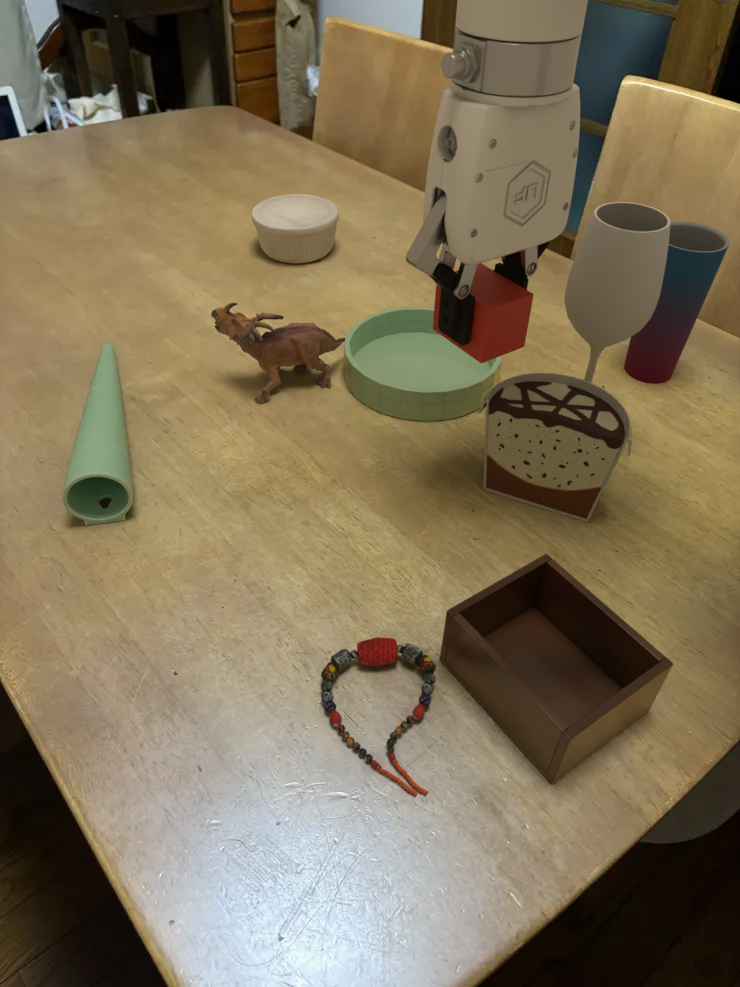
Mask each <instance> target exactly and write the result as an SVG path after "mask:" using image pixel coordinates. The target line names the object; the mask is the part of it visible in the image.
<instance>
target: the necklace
mask: <svg viewBox="0 0 740 987" xmlns="http://www.w3.org/2000/svg"><path fill="white" fill-rule="evenodd" d="M399 654H401V657H402V659H403V660H404V661H406V662H408V663H410V664H412V665H413V666H417V667H418V668H419V669H420V670H421V671H422V672H423V674H424V677H423V681H424V684H423V685H421V687H420V689H421V695H420V696H419V698H418V702H419V704H417V705H416V706H414V708H413V710H412V712H411V715H408V716H406V718H405V720H403V721H402V722H400V725H398V726H396V727H395V729H394V731H392V732H390V734H389V739H387V741H386V746H387V748H386V750H385V751H386V753H387V755H388V757H389V760H390V762H391V764H392V765H393V766H394V767H395V768H396V769H397V770H398V771H399V773H401V774H402V775H403V776H404V778H405V779H406V780H407V782H408V783H409V784H410V785H411V786H412V787H413V788H414V789H413V788H411V787H410V786H409V785H408V784H407V783H405V782H404V781H403V780H402V779H401V778H400V777H399V776H396V775H394V774H392V773H391V772H390V770H387V769H384V768H383V767H382V765H381V764H380V763H379V762H378V761H377V760H375V759H374V756H373V755H372V754H371V753H368V751H367V749H366V748H364V747H362V745H361V743H360V742H358V741H356V740H355V738H354V737H353V736H350V733H349V731H346V727H345V725H344V724H342V716H341V714H340V712H339V711H337V710H336V709H337V704H336V703H335V701H334V695H333V693H332V690H333V682H334V681H335V679H336V678H337V676H338V675H339V673H340V671H341V670H342V669H344V668H346V667H347V666H349V665H350V664H351V663H352V661H353V660H356V659H357V661H358V664H359V665H361V666H369V667H371V666H373V667H382V666H385V665H390V664H394V663H396V662H397V661H398V660H399ZM436 669H437V664H436V663H435V662H434V660H432V659H431V658H430V656H429V655H428V654H424V652H423V650H422V649H420V648H419V647H417V646H415V645H413V644H412V643H406V644H405V645H403V644H398V643H397V640H396V639H395V638H394V637H372V638H370V639H364V640H362V641H359V642H358V643H356V650H354V649H353V650H351V651H349V650H348V649H347V648H342V649H340V650H339V651H337V652H336V653H334V654H332V655H331V656H330V661H329V662H328V663H327V664H326V666H325V667H324V668H323V669H322V671H321V673H320V677H321V679H322V680H323V681H322V683H320V690H321V691H322V692H323V693H322V694H321V697H320V698H321V702H322V703H324V705H323V709H324V711H325V712H326V713H329V722H330V723H331V725H332V726H333V727H336V728H337V729H336V731H337V732H338V733H340V734H341V738H342V739H343V740H346V743H347V745H348V746H352V749H353V750H354V751H357V752H358V755H359V756H360V757H364V760H365V762H366V763H370V765H371V766H372V767H373V768H374V769H375V770H377V771H378V772H379V773H381V774H384V775H385V776H387V777H388V778H389V779H391V780H393V782H396V784H398V785H399V786H401V787H402V788H403V789H404V790H405V791H407V793H410V794H411V795H413V796H417V795H418V793H419V792H420V793H422V794H423V795H427V794H429V791H428V790H426V789H425V788H424V787H421V786H420V785H418V783H417V782H416V781H414V780H413V778H412V777H411V776H410V774H408V771H406V770H405V769H404V768H403V767H402V766H401V765H400V764H399V762H398V759H397V757H396V755H395V748H394V746H395V743H396V742H395V741H396V740H397V739H398V737H399V735H401V734H403V732H404V730H407V729H409V725H411V724H413V723H414V721H415V720H416V721H418V720H421V719H422V718H423V717H424V715H425V714H426V707H429V705H430V704H431V701H432V699H431V697H430V696H431V695H432V694H433V693H434V687H433V685H434V684H435V683H436V680H437V678H436V676H435V674H434V672H435V671H436Z"/></svg>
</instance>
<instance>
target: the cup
mask: <svg viewBox="0 0 740 987" xmlns="http://www.w3.org/2000/svg"><path fill="white" fill-rule="evenodd" d="M729 247H730V239H729V237H728V236H727V235H726V234H725V233H724V232H722V231H721V230H719V229H716V228H715V227H712V226H709V225H707V224H703V223H698V222H693V221H683V220H681V221H680V220H675V221H670V235H669V244H668V252H667V260H666V266H665V272H664V277H663V283H662V288H661V292H660V296H659V299H658V303H657V306H656V308H655V310H654V312H653V315H652V317H651V318H650V320H649V321H648V322H647V323H646V324H645V326H644V327H643V328H642V329H641V330H640V331H639V332H637V333H636V334H634V335H633V336H631V337H630V338H629V343H628V348H627V352H626V356H625V359H624V370H625V372H626V373H627V374H628V375H629V376H630V377H632V378H633V379H636V380H638V381H641V382H644V383H650V384H660V383H665V382H667V381H669V380H670V379H671V378H672V376H673V374H674V372H675V370H676V368H677V365H678V363H679V360H680V358H681V356H682V353H683V351H684V349H685V347H686V344H687V342H688V340H689V338H690V336H691V333H692V330H693V328H694V327H695V324H696V321H697V320H698V317H699V314H700V313H701V311H702V308H703V306H704V303H705V301H706V299H707V297H708V294H709V292H710V290H711V287H712V285H713V283H714V280H715V279H716V276H717V273H718V272H719V269H720V267H721V265H722V262H723V260H724V257H725V255H726V253H727V251H728V249H729Z"/></svg>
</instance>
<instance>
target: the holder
mask: <svg viewBox="0 0 740 987" xmlns="http://www.w3.org/2000/svg"><path fill="white" fill-rule="evenodd" d="M443 626H444V627H443V634H442V640H441V647H440V653H439V654H440V655H439V660H440V662H441V663H442V664H443V665H444V666H445V667H446V668H447V670H448V671H449V672H450V673H451V674H452V675H453V676H454V677H455V678H456V680H457V681H458V682H459V683H460V684H461V685H462V686H463V687H464V688H465V689H466V691H467V692H468V693H469V694H470V695H471V696H472V698H474V700H475V701H476V702H477V703H478V704H479V705H480V706H481V707H482V709H483V710H484V711H485V712H486V713H487V715H489V717H490V718H491V719H492V720H493V721H494V722H495V723H496V724H497V725H498V726H499V727H500V729H501V730H502V731H503V732H504V733H505V734H506V736H508V738H509V739H510V740H511V742H513V743H514V745H516V746H517V748H519V750H520V751H521V752H522V753H523V754H524V755H525V757H526V758H527V759H528V760H529V761H530V762H531V763H532V764H533V766H534V767H535V768H536V769H537V770H538V771H539V772H540V773H541V774H542V775H543V777H544V778H545V779H546V780H547V781H548V782H549V783H550V784H551V785H554V784H555V783H557V782H558V781H559V780H560V779H562V778H563V777H564V776H566V775H567V774H569V772H571V771H572V770H574V769H575V768H576V767H578V766H579V765H580V764H582V763H583V762H584V761H585V760H587V759H588V758H589V757H591V756H592V755H593V754H595V753H596V752H597V751H598V750H600V749H601V748H603V747H604V746H606V745H607V744H608V743H609V742H611V741H612V740H613V739H614V738H616V737H617V736H618V735H619V734H621V733H622V732H623V731H625V730H626V729H627V728H629V727H630V726H632V725H633V724H634V723H635V722H637V721H638V720H640V718H642V717H643V716H644V715H646V714H647V713H649V712H650V709H651V708H652V707H653V704H654V702H655V700H656V699H657V696H658V695H659V693H660V691H661V689H662V687H663V685H664V683H665V681H666V680H667V678H668V675H669V674H670V672H671V670H672V667H673V666H674V662H672V661H671V660H670V659H669V658H668V657H667V656H666V655H665V654H663V653H662V652H661V651H659V649H658V648H656V647H655V646H654V645H653V644H652V643H651V642H650V641H648V640H647V639H646V638H645V637H644V636H642V635H641V634H640V633H639V632H638V631H637V630H636V629H634V628H633V627H632V626H631V625H630V624H629V623H627V622H626V621H625V620H624V619H623V618H622V617H620V616H619V615H618V613H616V612H615V611H613V609H611V608H610V607H609V606H608V605H607V604H605V603H604V602H603V600H601V599H600V598H598V597H597V595H595V594H594V593H593V592H592V591H590V590H589V589H588V588H587V587H586V586H585V585H584V584H582V583H581V582H580V581H579V580H578V579H577V578H575V576H573V575H572V574H571V573H570V572H568V571H567V570H566V569H565V568H564V567H562V565H561V564H560V563H559V562H557V561H556V560H555V559H553V557H551V556H550V554H548V553H545V554H543V555H540V556H539V557H538V558H536V559H534V560H532V561H531V562H529V563H527V564H526V565H524V566H522V567H520V568H519V569H517V570H515V571H513V572H511V573H510V574H507V575H506V576H505V577H502V578H501V579H499V580H497V581H496V582H494V583H492V584H491V585H489V586H487V587H485V588H483V589H482V590H479V591H478V592H477V593H475V594H473V595H472V596H469V597H468V598H466V599H464V600H463V601H461V602H459V603H457V604H456V605H454V606H452V607H450V608H449V609H447V610H446V614H445V620H444V625H443Z"/></svg>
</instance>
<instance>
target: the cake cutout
mask: <svg viewBox="0 0 740 987" xmlns="http://www.w3.org/2000/svg"><path fill="white" fill-rule="evenodd" d="M484 409H485V424H484V425H485V427H484V452H483V455H484V456H483V479H482V480H483V481H482V482H483V483H482V490H483V491H486V492H489V493H492V494H495V495H498V496H500V497H501V496H502V497H505V498H508V499H511V500H514V501H517V502H520V503H524V504H526V505H530V506H533V507H535V508H540V509H543V510H545V511H549V512H552V513H555V514H559V515H561V516H565V517H567V518H571V519H574V520H577V521H581V522H583V523H587V524H588V523H589V521H590V519H591V516H592V515H593V513H594V511H595V509H596V507H597V504H598V503H599V500H600V498H601V496H602V494H603V492H604V490H605V488H606V486H607V484H608V482H609V480H610V478H611V476H612V474H613V471H614V470H615V468H616V465H617V463H618V461H619V459H620V458H621V456H622V453H623V451H624V449H625V448H626V445H627V444H628V445H627V457H630V456H631V451H632V443H633V442H632V440H633V430H632V425H631V419H630V416H629V414H628V411H627V410H626V408H625V407H624V405H623V404H622V403H621V402H620V401H619V400H618V398H616V397H615V396H614V395H612V393H610V392H608V391H607V390H605V389H604V388H602V387H601V386H598V385H596V384H594V383H593V382H592V383H590V382H587V381H585V380H584V379H581V378H578V377H576V376H575V377H574V376H571V375H566V374H562V373H561V374H560V373H553V372H531V373H524V374H518V375H515V376H511V377H509V378H506V379H503V381H501V382H498V384H497V385H496V386H495V387H494V388H492V389H491V391H490V392H489V393H488V395H487V396H486V397H485V399H484V400H483V402H482V405H481V407H480V408H479V409H478V414H481V413H482V412H483V410H484Z"/></svg>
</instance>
